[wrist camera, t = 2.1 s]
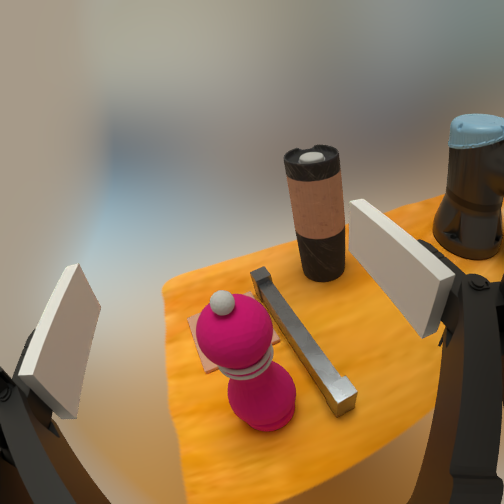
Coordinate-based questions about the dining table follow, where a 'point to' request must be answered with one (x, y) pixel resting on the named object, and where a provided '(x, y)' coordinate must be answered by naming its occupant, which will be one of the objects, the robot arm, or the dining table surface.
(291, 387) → the pepper mill
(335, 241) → the travel mug
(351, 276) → the dining table surface
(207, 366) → the end tile
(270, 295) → the handrail
